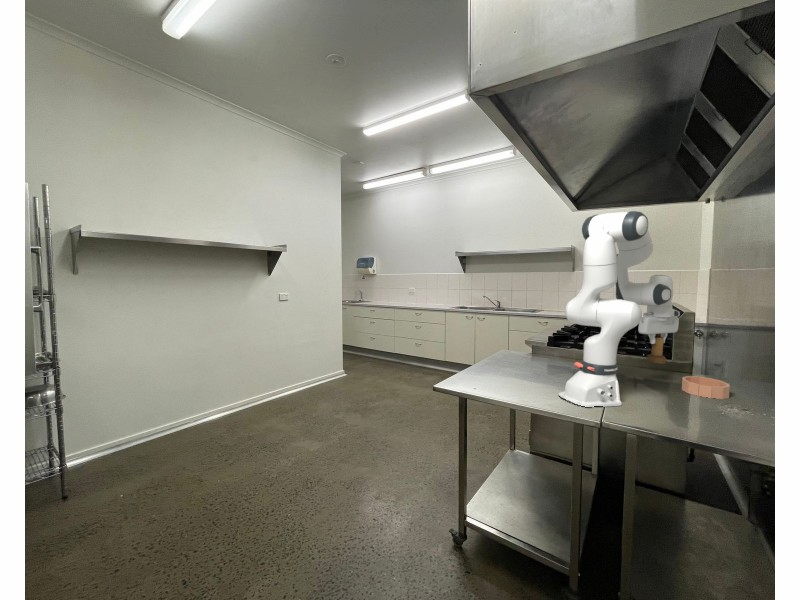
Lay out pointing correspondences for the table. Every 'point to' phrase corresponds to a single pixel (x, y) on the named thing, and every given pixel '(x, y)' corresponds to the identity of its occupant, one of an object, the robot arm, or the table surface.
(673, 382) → the table surface
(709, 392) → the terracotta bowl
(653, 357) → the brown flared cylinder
